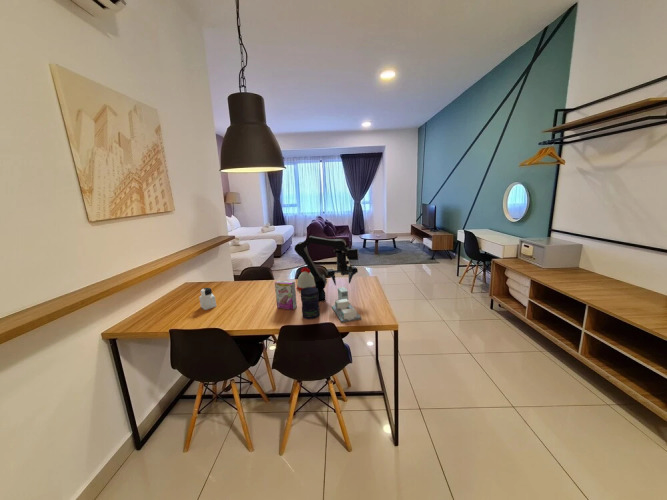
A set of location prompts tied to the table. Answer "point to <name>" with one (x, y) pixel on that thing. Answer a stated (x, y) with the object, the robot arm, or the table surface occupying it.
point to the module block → (342, 293)
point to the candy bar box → (285, 294)
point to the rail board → (345, 311)
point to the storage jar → (310, 303)
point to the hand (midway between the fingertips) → (342, 284)
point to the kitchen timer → (305, 279)
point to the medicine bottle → (207, 299)
